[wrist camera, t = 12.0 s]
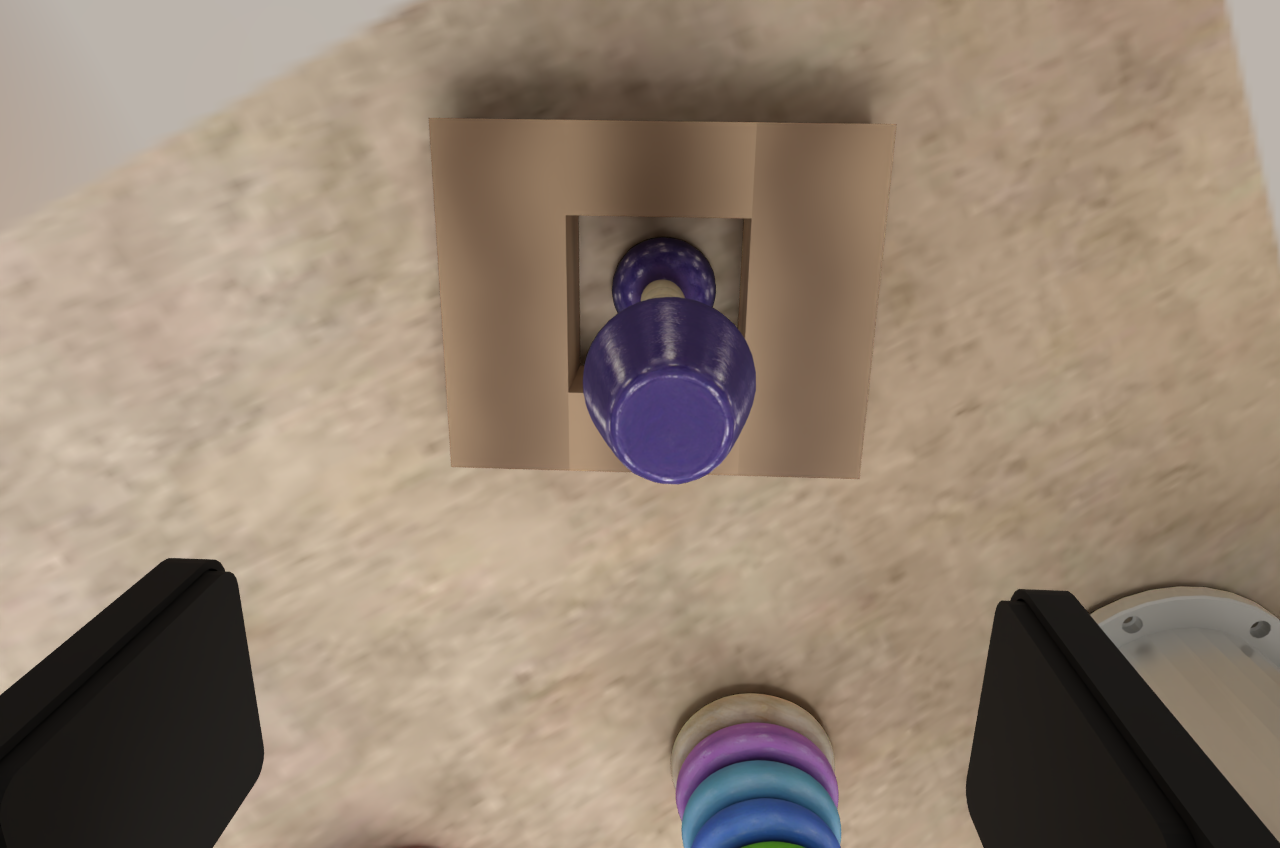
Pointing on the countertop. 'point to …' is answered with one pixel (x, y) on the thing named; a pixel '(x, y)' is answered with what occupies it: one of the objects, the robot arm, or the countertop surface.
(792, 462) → the brown flat frame block
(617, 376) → the toy lamp
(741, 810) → the stacking toy
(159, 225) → the countertop surface
